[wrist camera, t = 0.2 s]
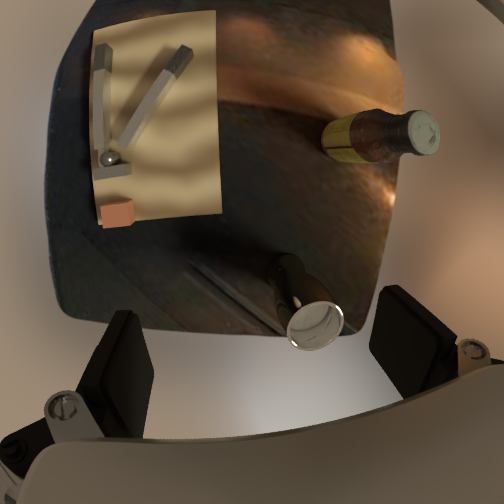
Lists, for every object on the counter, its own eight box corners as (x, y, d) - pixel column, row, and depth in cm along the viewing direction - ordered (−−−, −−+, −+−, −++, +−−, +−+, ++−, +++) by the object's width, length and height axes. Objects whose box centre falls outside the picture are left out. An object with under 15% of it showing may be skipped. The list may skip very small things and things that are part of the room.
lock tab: (135, 220, 37) (130, 225, 34) (109, 223, 36) (103, 228, 34) (132, 199, 36) (127, 202, 33) (106, 202, 35) (100, 206, 33)
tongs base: (132, 173, 35) (124, 176, 31) (102, 178, 34) (91, 181, 31) (130, 45, 28) (123, 36, 25) (100, 52, 28) (91, 45, 24)
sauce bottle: (362, 152, 38) (457, 163, 20) (327, 167, 39) (413, 185, 20) (346, 112, 36) (438, 95, 18) (310, 126, 36) (389, 109, 18)
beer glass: (310, 251, 43) (352, 299, 29) (303, 292, 45) (337, 350, 31) (265, 250, 42) (290, 300, 28) (260, 292, 44) (280, 354, 30)
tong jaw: (132, 149, 33) (126, 149, 31) (123, 144, 33) (116, 144, 30) (194, 56, 30) (192, 49, 27) (184, 51, 30) (182, 44, 27)
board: (96, 33, 27) (94, 30, 26) (215, 13, 29) (215, 10, 28) (101, 222, 37) (98, 224, 36) (221, 211, 39) (222, 213, 38)
